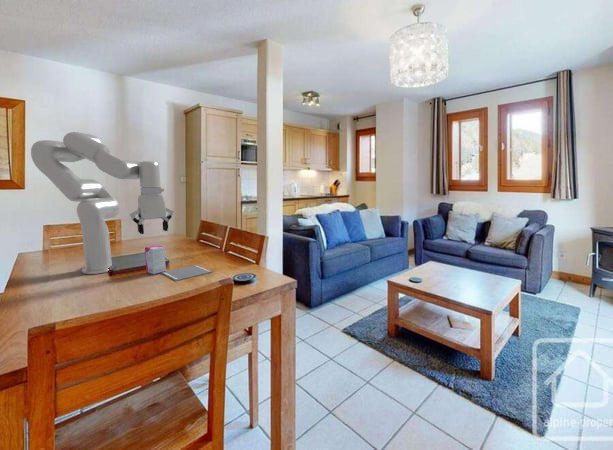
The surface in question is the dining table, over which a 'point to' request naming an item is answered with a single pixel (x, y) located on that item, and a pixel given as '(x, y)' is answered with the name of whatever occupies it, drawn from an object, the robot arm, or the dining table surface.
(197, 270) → the mat
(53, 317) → the dining table surface
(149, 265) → the supplement box
